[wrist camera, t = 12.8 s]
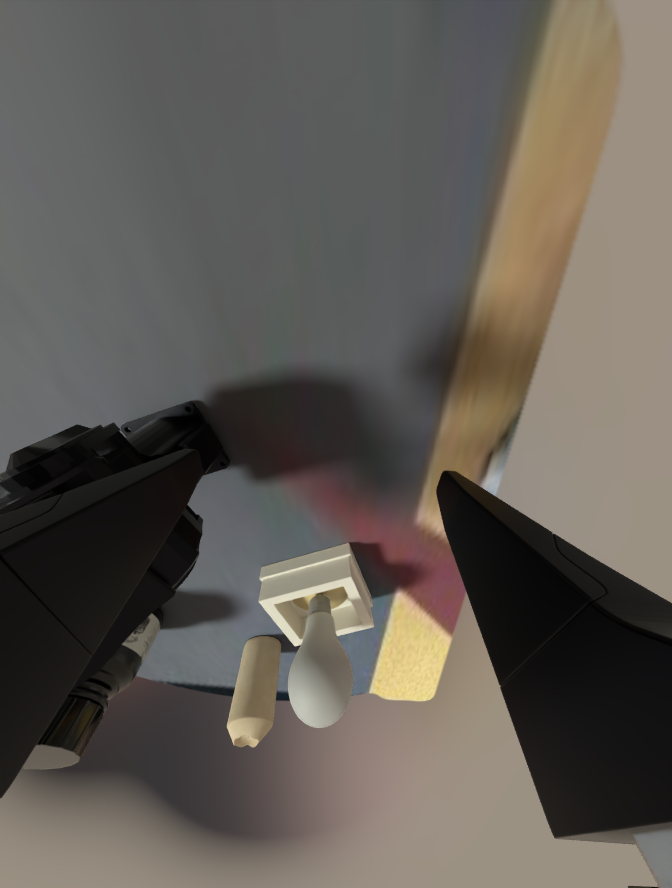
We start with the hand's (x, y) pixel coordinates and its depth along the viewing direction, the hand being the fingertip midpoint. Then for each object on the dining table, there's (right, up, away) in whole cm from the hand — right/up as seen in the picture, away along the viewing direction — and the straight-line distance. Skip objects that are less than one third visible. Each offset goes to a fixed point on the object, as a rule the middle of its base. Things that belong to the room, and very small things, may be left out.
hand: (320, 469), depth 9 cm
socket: (-2, -17, +23) cm, 28 cm away
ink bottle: (-27, -21, +23) cm, 41 cm away
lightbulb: (-1, -18, +22) cm, 28 cm away
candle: (-11, -30, +29) cm, 43 cm away
